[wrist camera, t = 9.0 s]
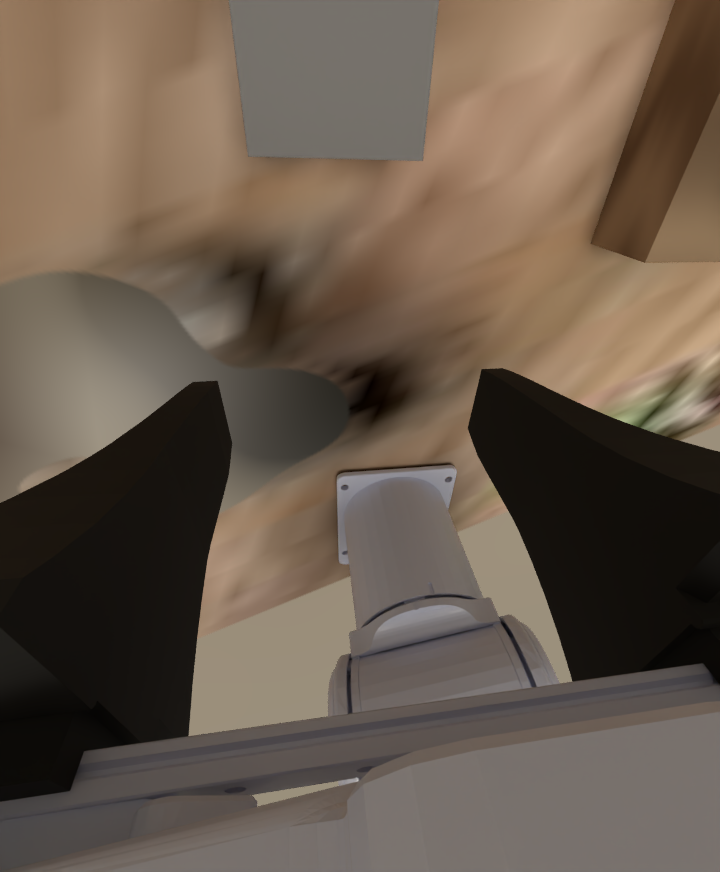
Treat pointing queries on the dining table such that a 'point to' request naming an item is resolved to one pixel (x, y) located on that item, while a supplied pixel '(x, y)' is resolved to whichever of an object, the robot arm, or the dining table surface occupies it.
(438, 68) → the dining table surface
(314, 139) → the charcoal cube
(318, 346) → the dining table surface
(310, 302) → the dining table surface
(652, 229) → the walnut block
